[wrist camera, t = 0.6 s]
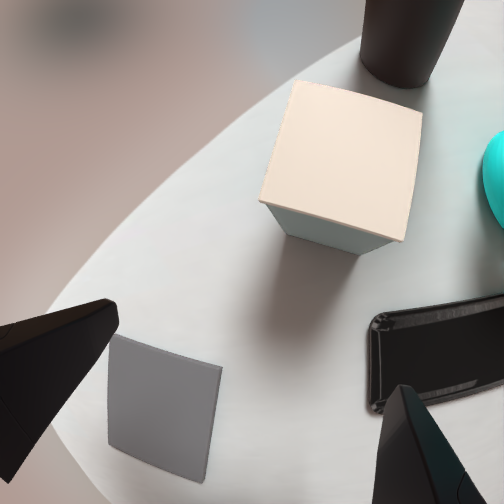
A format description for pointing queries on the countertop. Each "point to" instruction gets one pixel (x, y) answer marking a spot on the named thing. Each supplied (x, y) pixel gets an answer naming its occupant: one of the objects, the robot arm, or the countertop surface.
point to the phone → (437, 350)
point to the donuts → (495, 176)
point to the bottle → (406, 38)
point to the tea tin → (343, 168)
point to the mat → (161, 406)
